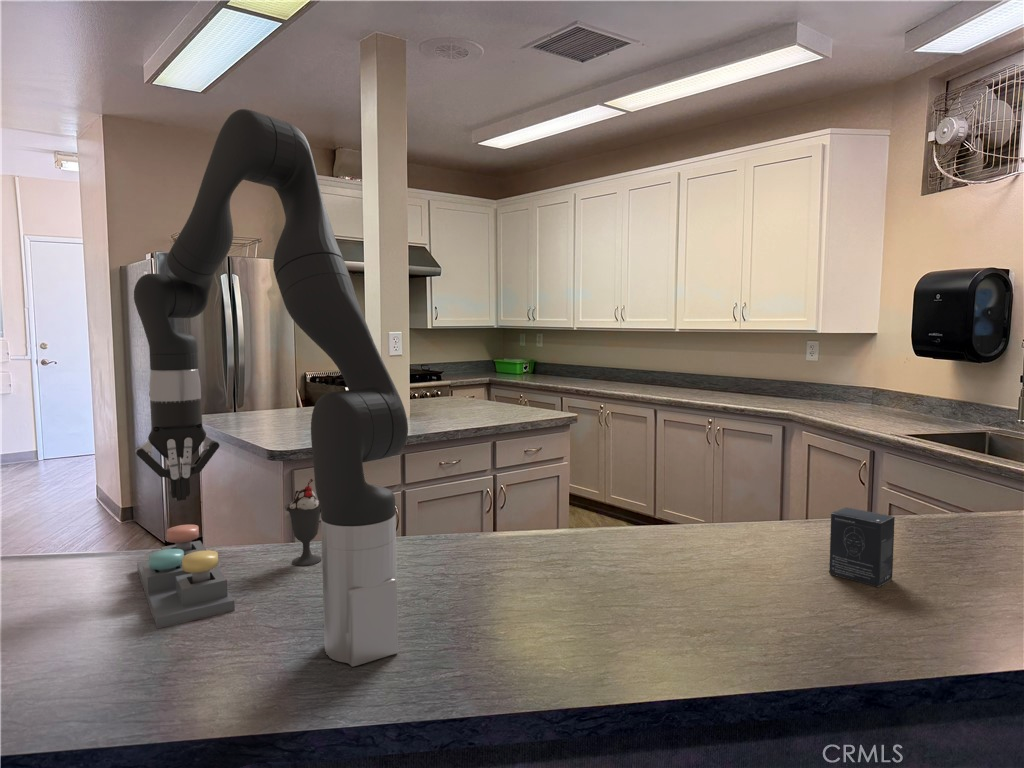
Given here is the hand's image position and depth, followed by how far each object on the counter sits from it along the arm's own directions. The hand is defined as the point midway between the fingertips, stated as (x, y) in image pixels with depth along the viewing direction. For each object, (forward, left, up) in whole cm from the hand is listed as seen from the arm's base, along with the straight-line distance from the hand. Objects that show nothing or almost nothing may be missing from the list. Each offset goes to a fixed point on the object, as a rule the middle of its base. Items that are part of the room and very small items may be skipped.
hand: (180, 499), depth 109 cm
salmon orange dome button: (0, 0, -9) cm, 9 cm away
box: (-67, -91, -13) cm, 113 cm away
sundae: (-7, -19, -13) cm, 24 cm away
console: (-8, +1, -12) cm, 15 cm away
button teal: (-8, +3, -10) cm, 14 cm away
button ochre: (-16, 0, -9) cm, 18 cm away
